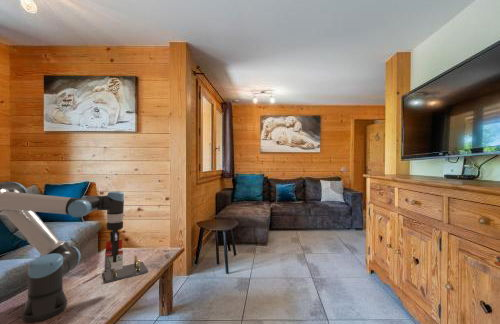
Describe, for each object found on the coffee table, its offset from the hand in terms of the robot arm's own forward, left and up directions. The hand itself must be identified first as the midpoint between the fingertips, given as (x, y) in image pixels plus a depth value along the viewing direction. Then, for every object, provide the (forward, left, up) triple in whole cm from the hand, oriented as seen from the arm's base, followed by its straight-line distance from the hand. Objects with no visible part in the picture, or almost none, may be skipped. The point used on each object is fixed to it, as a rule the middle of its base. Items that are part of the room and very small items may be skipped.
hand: (113, 266), depth 123 cm
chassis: (+9, +19, -12) cm, 24 cm away
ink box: (0, 0, -2) cm, 2 cm away
